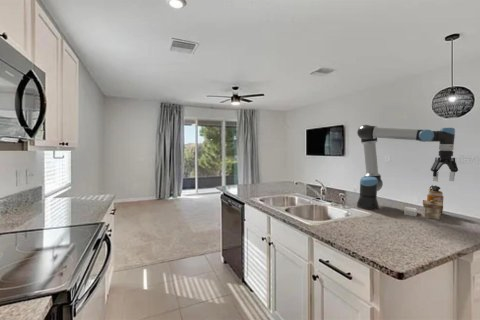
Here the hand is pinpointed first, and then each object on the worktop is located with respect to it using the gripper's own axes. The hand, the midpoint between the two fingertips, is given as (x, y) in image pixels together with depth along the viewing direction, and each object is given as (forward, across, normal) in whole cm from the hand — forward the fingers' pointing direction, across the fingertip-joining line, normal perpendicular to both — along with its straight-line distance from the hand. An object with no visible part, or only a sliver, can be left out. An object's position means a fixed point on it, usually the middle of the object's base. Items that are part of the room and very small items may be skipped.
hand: (443, 181), depth 164 cm
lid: (+17, -10, -2) cm, 20 cm away
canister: (+24, +1, +6) cm, 25 cm away
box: (+24, -10, -2) cm, 26 cm away
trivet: (+24, -18, +7) cm, 31 cm away
